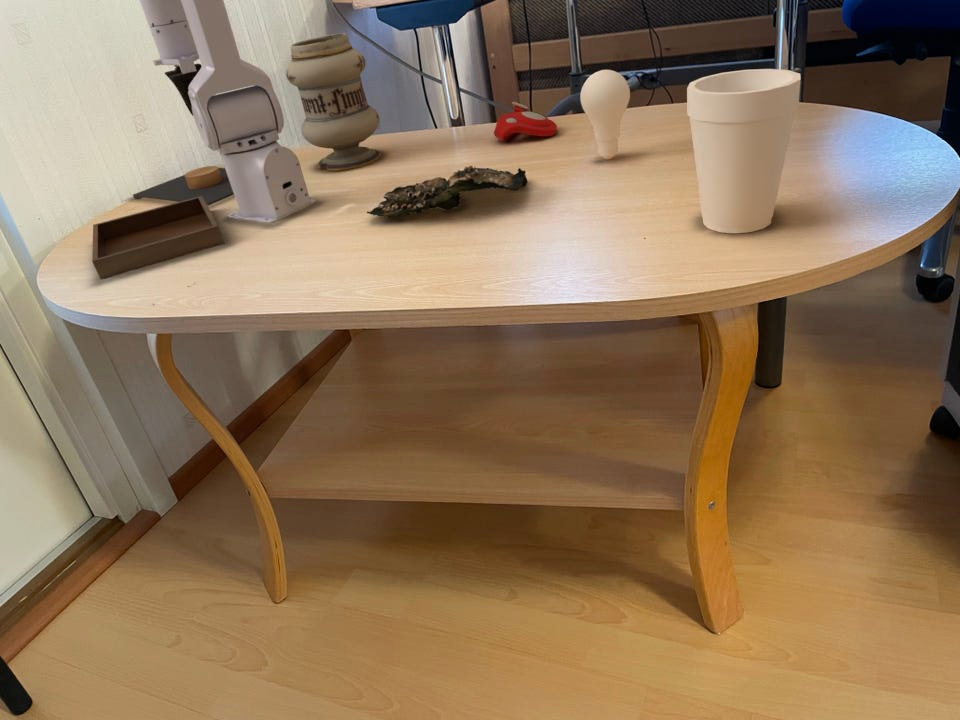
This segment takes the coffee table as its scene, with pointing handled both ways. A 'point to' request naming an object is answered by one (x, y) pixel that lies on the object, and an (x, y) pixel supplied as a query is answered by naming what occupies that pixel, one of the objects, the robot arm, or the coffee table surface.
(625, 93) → the lightbulb
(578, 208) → the coffee table surface
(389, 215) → the tree bark
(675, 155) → the coffee table surface
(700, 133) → the foam cup
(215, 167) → the wooden puck
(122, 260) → the tray
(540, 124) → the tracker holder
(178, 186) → the mat
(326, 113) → the apothecary jar
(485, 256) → the coffee table surface
